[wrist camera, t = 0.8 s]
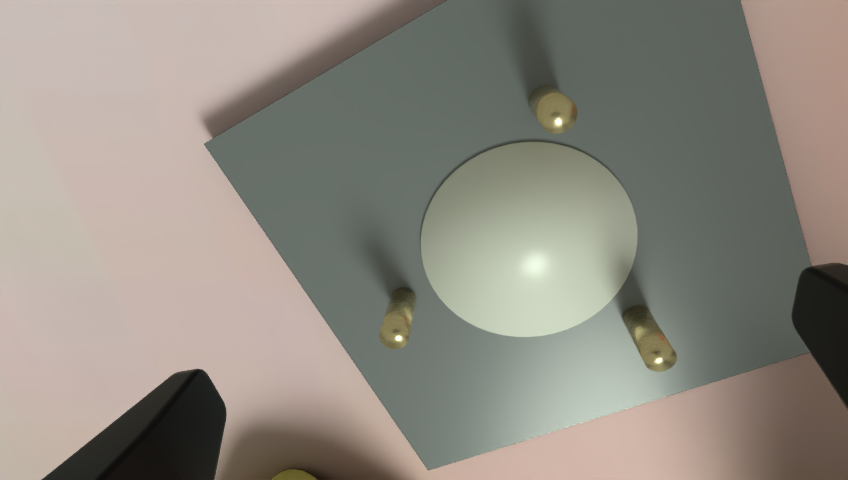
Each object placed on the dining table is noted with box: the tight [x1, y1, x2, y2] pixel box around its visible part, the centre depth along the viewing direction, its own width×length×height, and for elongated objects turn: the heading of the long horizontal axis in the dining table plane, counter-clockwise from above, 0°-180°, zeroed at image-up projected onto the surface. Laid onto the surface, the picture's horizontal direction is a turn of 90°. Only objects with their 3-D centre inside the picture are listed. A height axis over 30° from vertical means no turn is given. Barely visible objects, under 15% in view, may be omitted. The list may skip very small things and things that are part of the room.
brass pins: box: [379, 85, 677, 372], centre depth 20 cm, size 12×10×3 cm
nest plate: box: [204, 0, 811, 470], centre depth 21 cm, size 20×20×1 cm
